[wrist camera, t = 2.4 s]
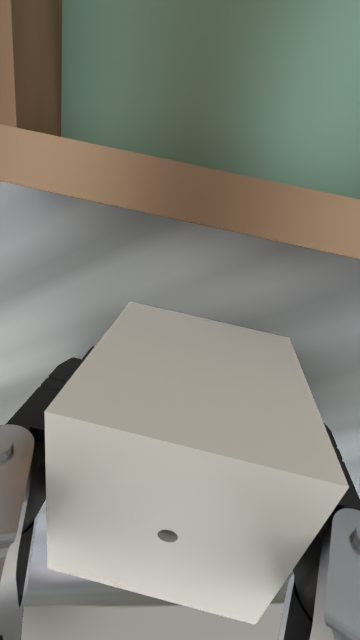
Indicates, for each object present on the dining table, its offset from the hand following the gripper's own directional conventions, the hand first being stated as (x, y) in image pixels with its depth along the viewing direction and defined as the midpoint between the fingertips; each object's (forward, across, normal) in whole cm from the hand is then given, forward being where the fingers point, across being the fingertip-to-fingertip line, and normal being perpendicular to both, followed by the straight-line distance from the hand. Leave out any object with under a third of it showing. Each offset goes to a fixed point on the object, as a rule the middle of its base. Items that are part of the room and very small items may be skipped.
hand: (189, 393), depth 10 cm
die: (+1, 0, 0) cm, 1 cm away
